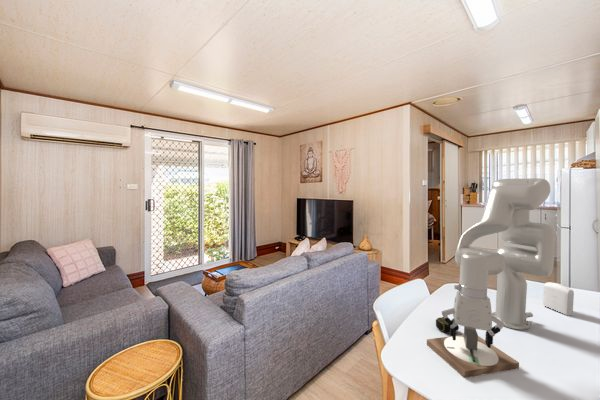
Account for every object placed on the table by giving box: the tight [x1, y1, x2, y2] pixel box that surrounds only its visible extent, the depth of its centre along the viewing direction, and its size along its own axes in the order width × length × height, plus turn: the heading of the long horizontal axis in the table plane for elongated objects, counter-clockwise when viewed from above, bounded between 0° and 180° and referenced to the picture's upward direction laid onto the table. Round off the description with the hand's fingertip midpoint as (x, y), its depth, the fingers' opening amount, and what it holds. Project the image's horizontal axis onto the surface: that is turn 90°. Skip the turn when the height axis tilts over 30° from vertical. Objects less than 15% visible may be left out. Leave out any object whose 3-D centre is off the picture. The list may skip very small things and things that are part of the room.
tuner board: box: [426, 334, 520, 379], centre depth 85 cm, size 20×16×2 cm
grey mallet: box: [463, 326, 479, 362], centre depth 83 cm, size 10×3×6 cm, turn 154°
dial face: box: [444, 335, 499, 366], centre depth 85 cm, size 15×15×1 cm
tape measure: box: [435, 316, 460, 334], centre depth 101 cm, size 7×7×4 cm
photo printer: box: [542, 281, 575, 316], centre depth 117 cm, size 10×4×12 cm, turn 13°
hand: (470, 341), depth 85 cm, fingers open, 9 cm apart
